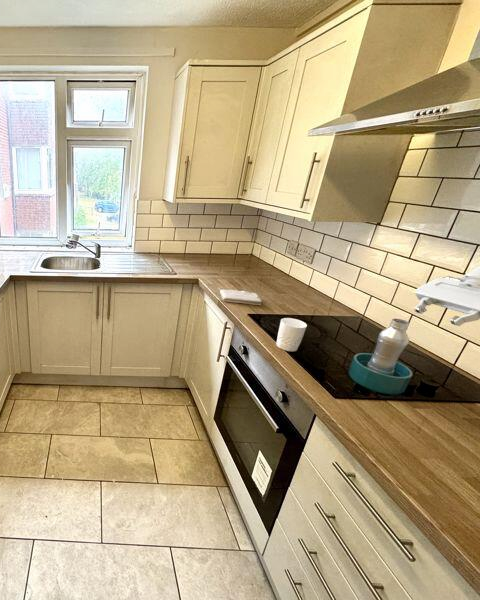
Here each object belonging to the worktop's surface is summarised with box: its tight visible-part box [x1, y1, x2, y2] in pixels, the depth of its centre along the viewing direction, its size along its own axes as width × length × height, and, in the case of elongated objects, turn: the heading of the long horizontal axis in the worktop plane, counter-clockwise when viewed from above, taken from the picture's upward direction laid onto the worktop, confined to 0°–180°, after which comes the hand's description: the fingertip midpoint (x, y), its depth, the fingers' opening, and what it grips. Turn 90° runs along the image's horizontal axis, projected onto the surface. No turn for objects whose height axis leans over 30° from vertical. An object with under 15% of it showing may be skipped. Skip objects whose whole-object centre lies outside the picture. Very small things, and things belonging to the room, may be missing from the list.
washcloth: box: [219, 289, 263, 306], centre depth 158 cm, size 12×18×3 cm, turn 75°
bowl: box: [347, 352, 414, 395], centre depth 96 cm, size 13×13×6 cm
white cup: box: [275, 317, 308, 352], centre depth 114 cm, size 8×8×10 cm
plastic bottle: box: [365, 318, 410, 376], centre depth 93 cm, size 6×7×20 cm
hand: (434, 317), depth 85 cm, fingers open, 8 cm apart
